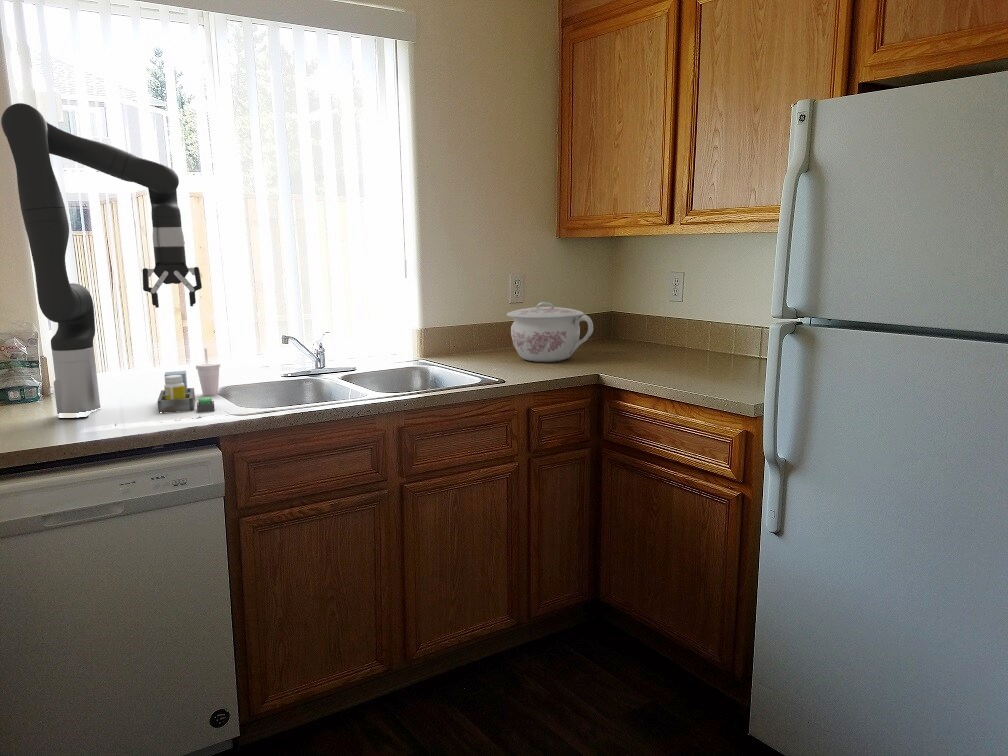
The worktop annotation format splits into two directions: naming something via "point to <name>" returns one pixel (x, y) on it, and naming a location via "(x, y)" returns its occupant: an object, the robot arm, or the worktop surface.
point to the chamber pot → (547, 332)
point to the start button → (205, 400)
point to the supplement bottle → (174, 387)
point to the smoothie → (208, 376)
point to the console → (205, 407)
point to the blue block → (182, 377)
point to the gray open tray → (176, 402)
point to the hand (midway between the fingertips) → (174, 306)
